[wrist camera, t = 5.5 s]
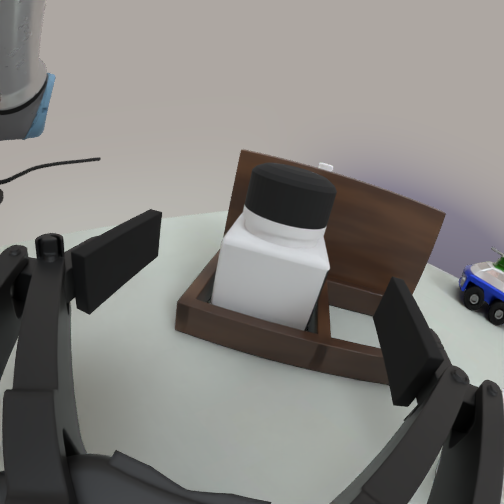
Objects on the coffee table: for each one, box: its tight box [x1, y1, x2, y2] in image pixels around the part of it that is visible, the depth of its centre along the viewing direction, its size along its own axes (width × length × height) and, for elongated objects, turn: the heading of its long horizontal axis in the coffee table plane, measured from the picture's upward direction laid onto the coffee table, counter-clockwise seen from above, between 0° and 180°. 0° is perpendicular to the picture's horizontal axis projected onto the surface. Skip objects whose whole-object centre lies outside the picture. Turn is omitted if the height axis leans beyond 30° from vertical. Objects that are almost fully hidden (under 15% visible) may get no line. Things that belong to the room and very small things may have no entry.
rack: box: [175, 150, 446, 385], centre depth 22 cm, size 12×20×12 cm, turn 79°
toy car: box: [459, 247, 504, 325], centre depth 33 cm, size 9×12×10 cm
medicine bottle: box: [211, 163, 337, 331], centre depth 22 cm, size 7×7×12 cm
